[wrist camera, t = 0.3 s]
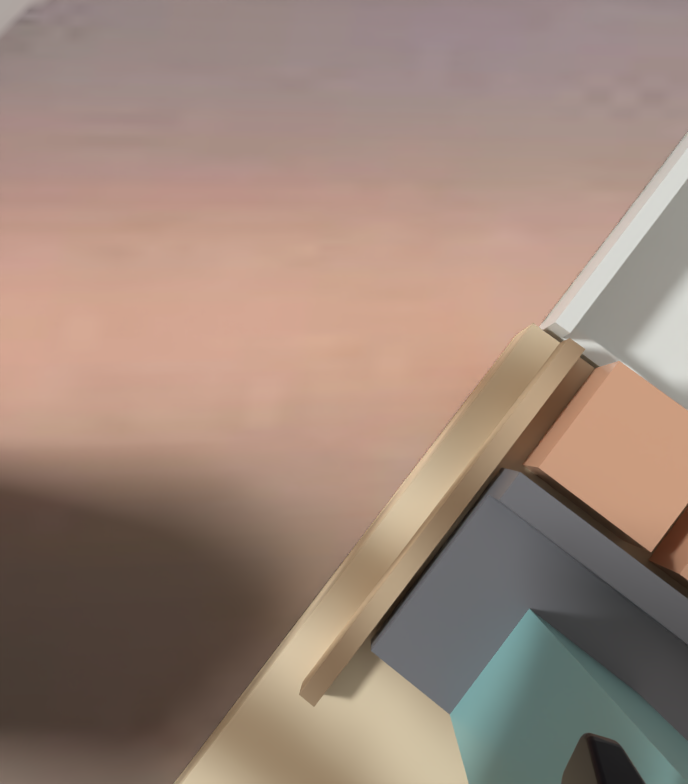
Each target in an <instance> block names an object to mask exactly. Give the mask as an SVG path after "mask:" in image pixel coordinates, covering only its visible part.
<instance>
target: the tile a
mask: <svg viewBox="0 0 688 784" xmlns="http://www.w3.org/2000/svg"><path fill="white" fill-rule="evenodd" d="M522 465H523V466H525V467H526V468H527V469H529V470H530V471H531V472H533V473H534V474H535V475H537V476H538V477H539V478H541V479H542V480H543V481H545V482H546V483H547V484H548V485H550V486H551V487H552V488H554V489H555V490H556V491H558V492H559V493H560V494H562V495H563V496H564V497H566V498H567V499H568V500H570V501H571V502H572V503H574V504H575V505H576V506H578V507H579V508H580V509H582V510H583V511H584V512H586V513H587V514H588V515H589V516H591V517H592V518H593V519H595V520H596V521H597V522H599V523H600V524H601V525H603V526H604V527H605V528H607V529H608V530H609V531H611V532H612V533H613V534H615V535H616V536H617V537H619V538H620V539H621V540H623V541H625V542H627V543H630V544H632V545H634V546H637V547H639V548H642V549H644V550H646V551H649V552H652V551H653V549H654V548H655V547H656V545H657V544H658V543H659V541H660V540H661V539H662V537H663V536H664V535H665V533H666V532H667V531H668V529H669V528H670V526H671V525H672V524H673V522H674V521H675V520H676V518H677V517H678V516H679V514H680V513H681V512H682V510H683V509H684V508H685V506H686V505H687V504H688V410H686V409H685V408H683V407H682V406H681V405H679V404H678V403H677V402H675V401H674V400H672V399H671V398H670V397H668V396H667V395H666V394H664V393H663V392H661V391H660V390H659V389H657V388H656V387H655V386H653V385H652V384H650V383H649V382H648V381H646V380H645V379H644V378H642V377H641V376H639V375H638V374H637V373H635V372H634V371H633V370H631V369H630V368H628V367H627V366H626V365H624V364H623V363H622V362H620V361H617V362H614V363H611V364H607V365H604V366H601V367H598V368H595V369H594V370H593V371H592V373H591V374H590V375H589V377H588V378H587V379H586V381H585V382H584V383H583V385H582V386H581V387H580V388H579V390H578V391H577V392H576V394H575V395H574V396H573V398H572V399H571V400H570V402H569V403H568V404H567V406H566V407H565V408H564V410H563V411H562V412H561V414H560V415H559V416H558V418H557V419H556V420H555V422H554V423H553V424H552V425H551V427H550V428H549V429H548V431H547V432H546V433H545V435H544V436H543V437H542V439H541V440H540V441H539V443H538V444H537V445H536V447H535V448H534V449H533V451H532V452H531V453H530V455H529V456H528V457H527V459H526V460H525V461H524V462H523V464H522Z"/></svg>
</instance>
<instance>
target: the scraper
mask: <svg viewBox="0 0 688 784" xmlns="http://www.w3.org/2000/svg"><path fill="white" fill-rule="evenodd" d="M371 651H372V652H373V653H374V654H375V655H377V656H378V657H379V658H380V659H382V660H383V661H384V662H385V663H386V664H388V665H389V666H390V667H391V668H393V669H394V670H395V671H396V672H398V673H399V674H400V675H401V676H403V677H404V678H405V679H406V680H408V681H409V682H410V683H411V684H412V685H414V686H415V687H416V688H417V689H419V690H420V691H421V692H422V693H424V694H425V695H426V696H427V697H429V698H430V699H431V700H432V701H434V702H435V703H436V704H437V705H438V706H440V707H441V708H442V709H443V710H445V711H446V712H447V713H448V714H450V717H451V721H452V725H453V728H454V732H455V736H456V739H457V743H458V746H459V750H460V754H461V757H462V761H463V765H464V768H465V772H466V775H467V779H468V783H469V784H561V780H562V775H563V772H564V769H565V767H566V765H567V763H568V761H569V759H570V757H571V755H572V753H573V751H574V749H575V747H576V745H577V743H578V741H579V739H580V737H581V736H582V735H583V734H584V733H593V734H596V735H599V736H603V737H606V738H610V739H613V740H615V741H617V742H618V743H619V744H620V745H621V746H622V747H623V749H624V750H625V752H626V753H627V755H628V757H629V758H630V760H631V761H632V763H633V764H634V766H635V767H636V769H637V771H638V772H639V774H640V775H641V777H642V778H643V780H644V782H645V783H646V784H688V599H687V598H686V597H685V596H683V595H682V594H681V593H679V592H678V591H677V590H675V589H674V588H673V587H671V586H670V585H669V584H667V583H666V582H665V581H664V580H662V579H661V578H660V577H658V576H657V575H656V574H654V573H653V572H652V571H650V570H649V569H648V568H646V567H645V566H644V565H642V564H641V563H640V562H638V561H637V560H636V559H634V558H633V557H632V556H631V555H629V554H628V553H627V552H625V551H624V550H623V549H621V548H620V547H619V546H617V545H616V544H615V543H613V542H612V541H611V540H609V539H608V538H607V537H605V536H604V535H603V534H601V533H600V532H599V531H598V530H596V529H595V528H594V527H592V526H591V525H590V524H588V523H587V522H586V521H584V520H583V519H582V518H580V517H579V516H578V515H576V514H575V513H574V512H572V511H571V510H570V509H568V508H567V507H566V506H565V505H563V504H562V503H561V502H559V501H558V500H557V499H555V498H554V497H553V496H551V495H550V494H549V493H547V492H546V491H545V490H543V489H542V488H541V487H539V486H538V485H537V484H535V483H534V482H533V481H532V480H530V479H529V478H528V477H526V476H525V475H524V474H522V473H521V472H518V471H514V470H510V469H506V468H501V469H500V470H499V472H498V473H497V474H496V476H495V477H494V478H493V480H492V481H491V482H490V484H489V485H488V486H487V487H486V489H485V490H484V491H483V493H482V494H481V495H480V497H479V498H478V499H477V501H476V502H475V503H474V505H473V506H472V507H471V509H470V510H469V511H468V513H467V514H466V515H465V517H464V518H463V519H462V520H461V522H460V523H459V524H458V526H457V527H456V528H455V530H454V531H453V532H452V534H451V535H450V536H449V538H448V539H447V540H446V542H445V543H444V544H443V546H442V547H441V548H440V550H439V551H438V552H437V553H436V555H435V556H434V557H433V559H432V560H431V561H430V563H429V564H428V565H427V567H426V568H425V569H424V571H423V572H422V573H421V575H420V576H419V577H418V579H417V580H416V581H415V583H414V584H413V585H412V586H411V588H410V589H409V590H408V592H407V593H406V594H405V596H404V597H403V598H402V600H401V601H400V602H399V604H398V605H397V606H396V608H395V609H394V610H393V612H392V613H391V614H390V616H389V617H388V618H387V619H386V621H385V622H384V623H383V625H382V626H381V627H380V629H379V630H378V631H377V633H376V634H375V635H374V637H373V638H372V639H371Z"/></svg>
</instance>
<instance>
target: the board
mask: <svg viewBox="0 0 688 784" xmlns="http://www.w3.org/2000/svg"><path fill="white" fill-rule="evenodd" d="M584 350H585V349H584V348H583V347H582V346H580V345H579V344H578V343H576V342H575V341H573V340H572V339H571V338H569V339H567V340H565V341H563V342H561V343H560V342H558V341H557V340H556V339H554V338H553V337H551V336H550V335H549V334H547V333H546V332H545V331H543V330H542V329H541V328H539V327H538V326H536V325H535V324H534V323H532V324H531V325H530V326H528V327H527V328H525V329H524V330H523V331H521V332H520V333H518V334H517V335H516V336H515V337H514V338H513V339H512V341H511V342H510V343H509V345H508V346H507V347H506V349H505V350H504V351H503V353H502V354H501V355H500V356H499V358H498V359H497V360H496V362H495V363H494V364H493V366H492V367H491V368H490V370H489V371H488V372H487V374H486V375H485V376H484V377H483V379H482V380H481V381H480V383H479V384H478V385H477V387H476V388H475V389H474V391H473V392H472V393H471V395H470V396H469V397H468V398H467V400H466V401H465V402H464V404H463V405H462V406H461V408H460V409H459V410H458V412H457V413H456V414H455V415H454V417H453V418H452V419H451V421H450V422H449V423H448V425H447V426H446V427H445V429H444V430H443V431H442V433H441V434H440V435H439V436H438V438H437V439H436V440H435V442H434V443H433V444H432V446H431V447H430V448H429V450H428V451H427V452H426V453H425V455H424V456H423V457H422V459H421V460H420V461H419V463H418V464H417V465H416V467H415V468H414V469H413V471H412V472H411V473H410V474H409V476H408V477H407V478H406V480H405V481H404V482H403V484H402V485H401V486H400V488H399V489H398V490H397V492H396V493H395V494H394V495H393V497H392V498H391V499H390V501H389V502H388V503H387V505H386V506H385V507H384V509H383V510H382V511H381V512H380V514H379V515H378V516H377V518H376V519H375V520H374V522H373V523H372V524H371V526H370V527H369V528H368V530H367V531H366V532H365V533H364V535H363V536H362V537H361V539H360V540H359V541H358V543H357V544H356V545H355V547H354V548H353V549H352V551H351V552H350V553H349V554H348V556H347V557H346V558H345V560H344V561H343V562H342V564H341V565H340V566H339V568H338V569H337V570H336V571H335V573H334V574H333V575H332V577H331V578H330V579H329V581H328V582H327V583H326V585H325V586H324V587H323V589H322V590H321V591H320V592H319V594H318V595H317V596H316V598H315V599H314V600H313V602H312V603H311V604H310V606H309V607H308V608H307V610H306V611H305V612H304V613H303V615H302V616H301V617H300V619H299V620H298V621H297V623H296V624H295V625H294V627H293V628H292V629H291V630H290V632H289V633H288V634H287V636H286V637H285V638H284V640H283V641H282V642H281V644H280V645H279V646H278V648H277V649H276V650H275V651H274V653H273V654H272V655H271V657H270V658H269V659H268V661H267V662H266V663H265V665H264V666H263V667H262V668H261V670H260V671H259V672H258V674H257V675H256V676H255V678H254V679H253V680H252V682H251V683H250V684H249V686H248V687H247V688H246V689H245V691H244V692H243V693H242V695H241V696H240V697H239V699H238V700H237V701H236V703H235V704H234V705H233V707H232V708H231V709H230V710H229V712H228V713H227V714H226V716H225V717H224V718H223V720H222V721H221V722H220V724H219V725H218V726H217V727H216V729H215V730H214V731H213V733H212V734H211V735H210V737H209V738H208V739H207V741H206V742H205V743H204V745H203V746H202V747H201V748H200V750H199V751H198V752H197V754H196V755H195V756H194V758H193V759H192V760H191V762H190V763H189V764H188V766H187V767H186V768H185V769H184V771H183V772H182V773H181V775H180V776H179V777H178V779H177V780H176V781H175V783H174V784H469V783H468V779H467V775H466V772H465V768H464V765H463V761H462V757H461V754H460V750H459V746H458V743H457V739H456V736H455V732H454V728H453V725H452V721H451V717H450V714H448V713H447V712H446V711H445V710H443V709H442V708H441V707H440V706H438V705H437V704H436V703H435V702H434V701H432V700H431V699H430V698H429V697H427V696H426V695H425V694H424V693H422V692H421V691H420V690H419V689H417V688H416V687H415V686H414V685H412V684H411V683H410V682H409V681H408V680H406V679H405V678H404V677H403V676H401V675H400V674H399V673H398V672H396V671H395V670H394V669H393V668H391V667H390V666H389V665H388V664H386V663H385V662H384V661H383V660H382V659H380V658H379V657H378V656H377V655H375V654H374V653H373V652H372V651H371V639H372V638H373V637H374V635H375V634H376V633H377V631H378V630H379V629H380V627H381V626H382V625H383V623H384V622H385V621H386V619H387V618H388V617H389V616H390V614H391V613H392V612H393V610H394V609H395V608H396V606H397V605H398V604H399V602H400V601H401V600H402V598H403V597H404V596H405V594H406V593H407V592H408V590H409V589H410V588H411V586H412V585H413V584H414V583H415V581H416V580H417V579H418V577H419V576H420V575H421V573H422V572H423V571H424V569H425V568H426V567H427V565H428V564H429V563H430V561H431V560H432V559H433V557H434V556H435V555H436V553H437V552H438V551H439V550H440V548H441V547H442V546H443V544H444V543H445V542H446V540H447V539H448V538H449V536H450V535H451V534H452V532H453V531H454V530H455V528H456V527H457V526H458V524H459V523H460V522H461V520H462V519H463V518H464V517H465V515H466V514H467V513H468V511H469V510H470V509H471V507H472V506H473V505H474V503H475V502H476V501H477V499H478V498H479V497H480V495H481V494H482V493H483V491H484V490H485V489H486V487H487V486H488V485H489V484H490V482H491V481H492V480H493V478H494V477H495V476H496V474H497V473H498V472H499V470H500V469H501V468H506V469H510V470H514V471H518V472H521V473H522V474H524V475H525V476H526V477H528V478H529V479H530V480H532V481H533V482H534V483H535V484H537V485H538V486H539V487H541V488H542V489H543V490H545V491H546V492H547V493H549V494H550V495H551V496H553V497H554V498H555V499H557V500H558V501H559V502H561V503H562V504H563V505H565V506H566V507H567V508H568V509H570V510H571V511H572V512H574V513H575V514H576V515H578V516H579V517H580V518H582V519H583V520H584V521H586V522H587V523H588V524H590V525H591V526H592V527H594V528H595V529H596V530H598V531H599V532H600V533H601V534H603V535H604V536H605V537H607V538H608V539H609V540H611V541H612V542H613V543H615V544H616V545H617V546H619V547H620V548H621V549H623V550H624V551H625V552H627V553H628V554H629V555H631V556H632V557H633V558H634V559H636V560H637V561H638V562H640V563H641V564H642V565H644V566H645V567H646V568H648V569H649V570H650V571H652V572H653V573H654V574H656V575H657V576H658V577H660V578H661V579H662V580H664V581H665V582H666V583H667V584H669V585H670V586H671V587H673V588H674V589H675V590H677V591H678V592H679V593H681V594H682V595H683V596H685V597H686V598H687V599H688V590H687V589H686V588H685V587H683V586H682V585H681V584H679V583H678V582H677V581H675V580H674V579H673V578H672V577H670V576H669V575H668V574H666V573H665V572H664V571H662V570H661V569H660V568H658V567H657V566H656V565H654V564H653V563H652V562H650V561H649V558H650V557H651V556H652V554H653V553H654V552H655V550H656V549H657V548H658V546H659V545H660V544H661V542H662V541H663V540H664V538H665V537H666V536H667V534H668V533H669V532H670V530H671V529H672V528H673V526H674V525H675V523H676V522H677V521H678V519H679V518H680V517H681V515H682V514H683V513H684V511H685V510H686V509H687V507H688V504H687V505H686V506H685V508H684V509H683V510H682V512H681V513H680V514H679V516H678V517H677V518H676V520H675V521H674V522H673V524H672V525H671V526H670V528H669V529H668V531H667V532H666V533H665V535H664V536H663V537H662V539H661V540H660V541H659V543H658V544H657V545H656V547H655V548H654V549H653V551H652V552H649V551H646V550H644V549H642V548H639V547H637V546H634V545H632V544H630V543H627V542H625V541H623V540H621V539H620V538H619V537H617V536H616V535H615V534H613V533H612V532H611V531H609V530H608V529H607V528H605V527H604V526H603V525H601V524H600V523H599V522H597V521H596V520H595V519H593V518H592V517H591V516H589V515H588V514H587V513H586V512H584V511H583V510H582V509H580V508H579V507H578V506H576V505H575V504H574V503H572V502H571V501H570V500H568V499H567V498H566V497H564V496H563V495H562V494H560V493H559V492H558V491H556V490H555V489H554V488H552V487H551V486H550V485H548V484H547V483H546V482H545V481H543V480H542V479H541V478H539V477H538V476H537V475H535V474H534V473H533V472H531V471H530V470H529V469H527V468H526V467H525V466H523V465H522V464H523V462H524V461H525V460H526V459H527V457H528V456H529V455H530V453H531V452H532V451H533V449H534V448H535V447H536V445H537V444H538V443H539V441H540V440H541V439H542V437H543V436H544V435H545V433H546V432H547V431H548V429H549V428H550V427H551V425H552V424H553V423H554V422H555V420H556V419H557V418H558V416H559V415H560V414H561V412H562V411H563V410H564V408H565V407H566V406H567V404H568V403H569V402H570V400H571V399H572V398H573V396H574V395H575V394H576V392H577V391H578V390H579V388H580V387H581V386H582V385H583V383H584V382H585V381H586V379H587V378H588V377H589V375H590V374H591V373H592V371H593V370H594V369H595V368H594V367H593V366H591V365H590V364H588V363H587V362H586V361H584V360H583V359H582V358H580V356H581V354H582V353H583V352H584Z"/></svg>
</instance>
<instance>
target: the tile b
mask: <svg viewBox="0 0 688 784" xmlns="http://www.w3.org/2000/svg"><path fill="white" fill-rule="evenodd" d="M649 561H650V562H652V563H653V564H654V565H656V566H657V567H658V568H660V569H661V570H662V571H664V572H665V573H666V574H668V575H669V576H670V577H672V578H673V579H674V580H675V581H677V582H678V583H679V584H681V585H682V586H683V587H685V588H686V589H687V590H688V507H687V509H686V510H685V511H684V513H683V514H682V515H681V517H680V518H679V519H678V521H677V522H676V523H675V525H674V526H673V528H672V529H671V530H670V532H669V533H668V534H667V536H666V537H665V538H664V540H663V541H662V542H661V544H660V545H659V546H658V548H657V549H656V550H655V552H654V553H653V554H652V556H651V557H650V558H649Z"/></svg>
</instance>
